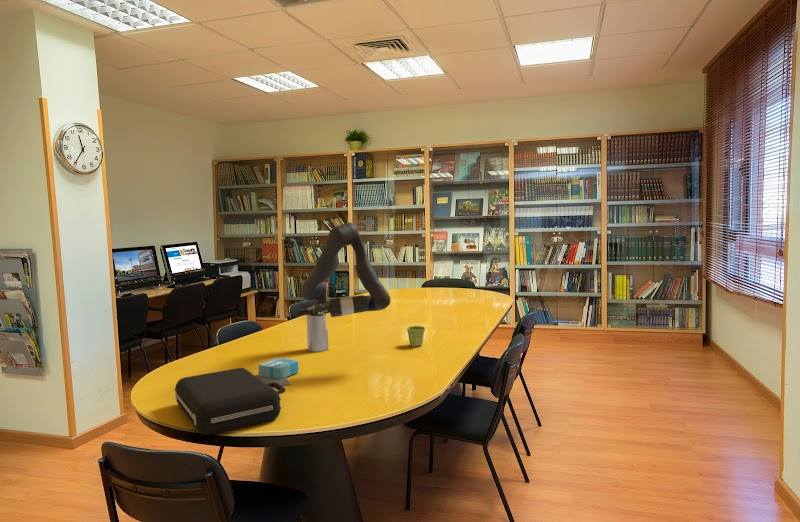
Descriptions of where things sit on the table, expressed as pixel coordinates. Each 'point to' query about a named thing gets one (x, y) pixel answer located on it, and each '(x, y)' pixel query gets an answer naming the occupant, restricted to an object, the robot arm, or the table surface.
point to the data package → (278, 368)
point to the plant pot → (416, 335)
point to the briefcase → (227, 400)
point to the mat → (274, 380)
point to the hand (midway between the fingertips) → (298, 312)
